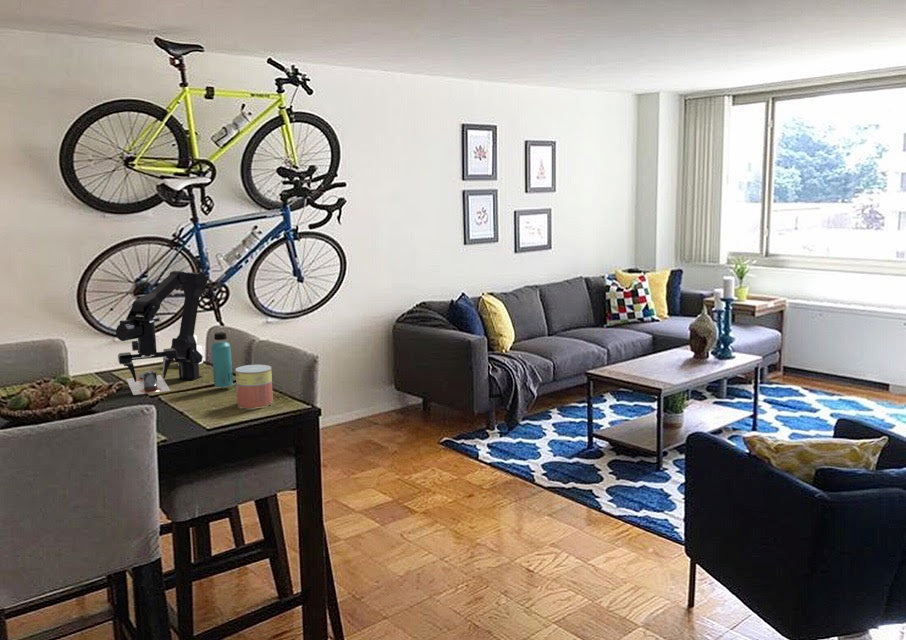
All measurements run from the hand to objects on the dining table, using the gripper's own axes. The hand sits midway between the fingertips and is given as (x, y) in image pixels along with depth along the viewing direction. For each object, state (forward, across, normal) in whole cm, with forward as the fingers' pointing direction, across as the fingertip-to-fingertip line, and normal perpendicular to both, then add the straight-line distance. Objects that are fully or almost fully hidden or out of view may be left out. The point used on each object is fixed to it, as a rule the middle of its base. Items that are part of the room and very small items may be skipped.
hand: (149, 380), depth 265 cm
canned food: (+4, -28, +36) cm, 45 cm away
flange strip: (+4, 0, -9) cm, 10 cm away
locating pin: (+4, 0, 0) cm, 4 cm away
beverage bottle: (+4, -23, +11) cm, 25 cm away
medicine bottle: (+4, -19, -35) cm, 40 cm away
